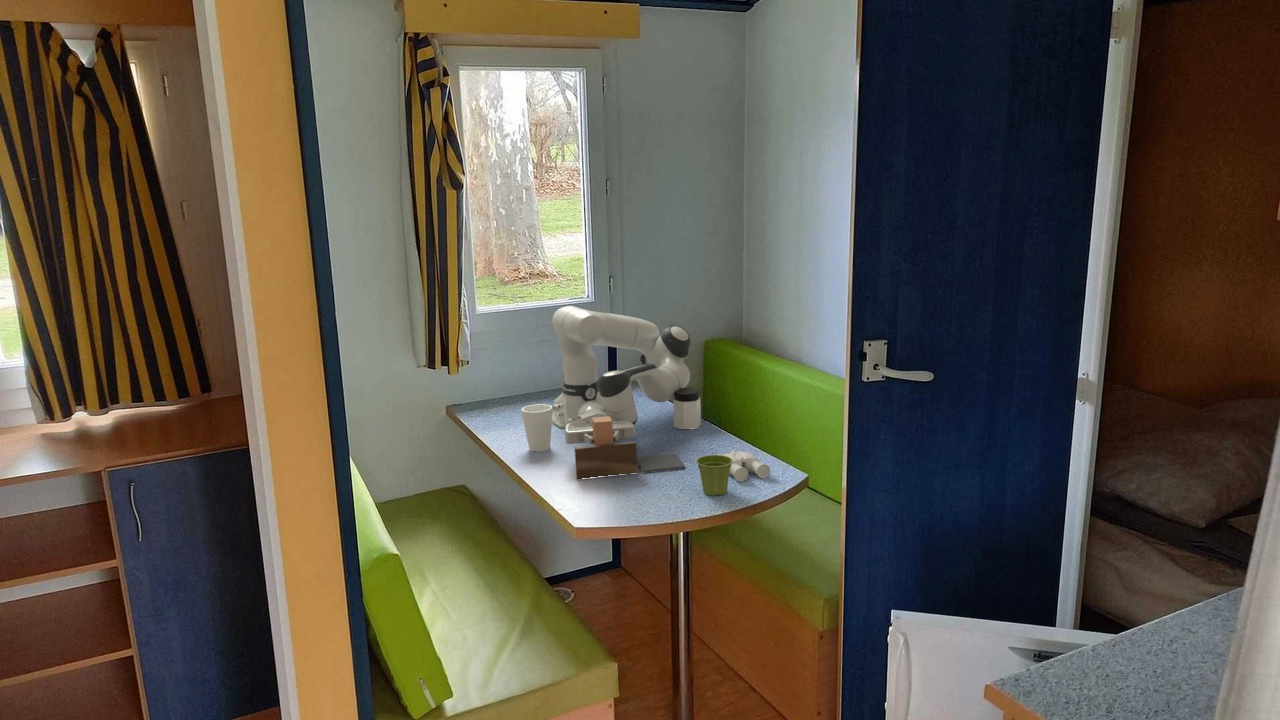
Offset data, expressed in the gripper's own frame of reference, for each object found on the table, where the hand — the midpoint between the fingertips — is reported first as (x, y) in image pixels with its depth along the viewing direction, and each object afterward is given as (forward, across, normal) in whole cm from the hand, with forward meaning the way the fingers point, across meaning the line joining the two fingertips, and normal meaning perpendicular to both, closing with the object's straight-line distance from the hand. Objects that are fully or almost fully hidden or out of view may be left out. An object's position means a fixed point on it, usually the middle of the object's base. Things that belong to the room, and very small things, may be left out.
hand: (603, 440), depth 251 cm
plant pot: (+25, -25, -9) cm, 37 cm away
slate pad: (-1, -16, -9) cm, 18 cm away
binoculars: (+12, -36, -10) cm, 39 cm away
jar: (-35, -32, -9) cm, 49 cm away
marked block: (-1, 0, -8) cm, 8 cm away
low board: (+4, 0, -9) cm, 10 cm away
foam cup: (-27, +16, -9) cm, 33 cm away
